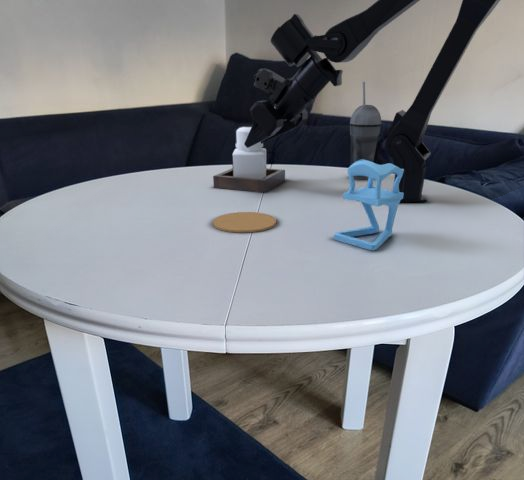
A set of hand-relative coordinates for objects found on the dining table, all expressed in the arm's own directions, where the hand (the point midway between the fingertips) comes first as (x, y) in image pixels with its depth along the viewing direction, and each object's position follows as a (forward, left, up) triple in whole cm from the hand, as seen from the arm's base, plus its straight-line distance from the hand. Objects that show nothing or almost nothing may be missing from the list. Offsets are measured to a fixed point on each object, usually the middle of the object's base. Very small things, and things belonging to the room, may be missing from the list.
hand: (255, 142), depth 105 cm
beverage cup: (+7, -25, -9) cm, 27 cm away
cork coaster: (-29, +1, -9) cm, 31 cm away
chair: (-38, -19, -9) cm, 44 cm away
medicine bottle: (+1, +1, -9) cm, 9 cm away
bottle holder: (+1, +1, -9) cm, 9 cm away
